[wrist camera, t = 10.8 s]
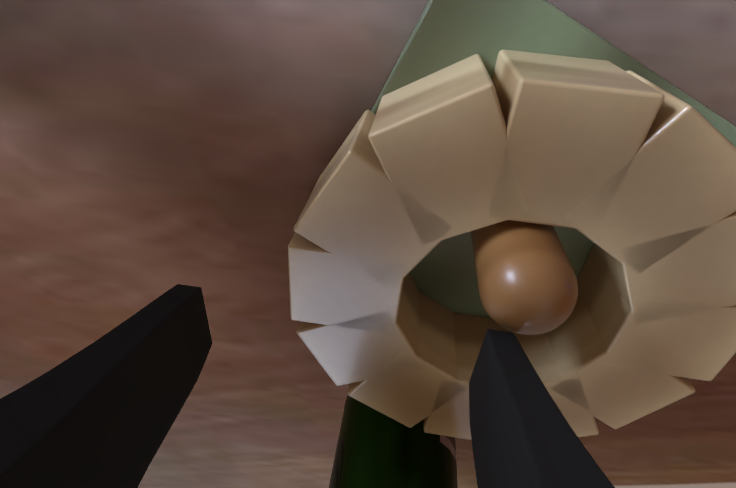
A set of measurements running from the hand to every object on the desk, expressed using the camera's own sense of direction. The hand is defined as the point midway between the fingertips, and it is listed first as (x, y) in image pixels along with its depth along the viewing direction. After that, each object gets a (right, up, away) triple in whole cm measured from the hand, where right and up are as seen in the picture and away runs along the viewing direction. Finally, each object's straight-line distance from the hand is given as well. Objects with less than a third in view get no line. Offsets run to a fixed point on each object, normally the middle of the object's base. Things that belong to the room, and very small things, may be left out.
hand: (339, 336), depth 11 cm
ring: (+5, +2, +4) cm, 7 cm away
